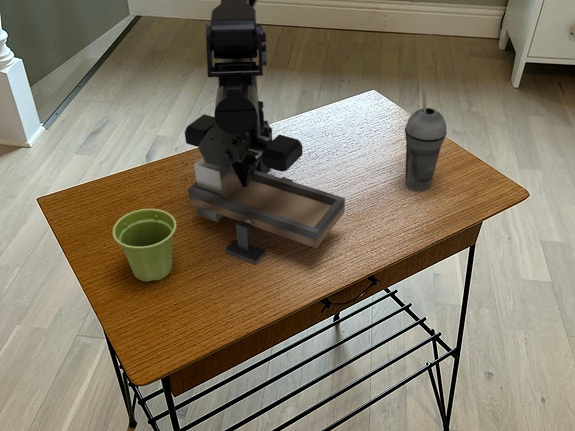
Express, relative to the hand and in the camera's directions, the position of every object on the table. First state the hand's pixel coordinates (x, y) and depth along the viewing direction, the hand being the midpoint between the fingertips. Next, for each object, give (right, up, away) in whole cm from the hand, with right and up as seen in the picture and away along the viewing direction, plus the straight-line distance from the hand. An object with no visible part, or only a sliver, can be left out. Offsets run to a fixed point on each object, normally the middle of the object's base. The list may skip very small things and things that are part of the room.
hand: (245, 185), depth 100 cm
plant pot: (-15, -14, -3) cm, 20 cm away
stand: (+3, -7, +4) cm, 9 cm away
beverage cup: (+31, +1, +14) cm, 34 cm away
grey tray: (+3, -6, +3) cm, 7 cm away
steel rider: (-4, 0, +3) cm, 5 cm away
